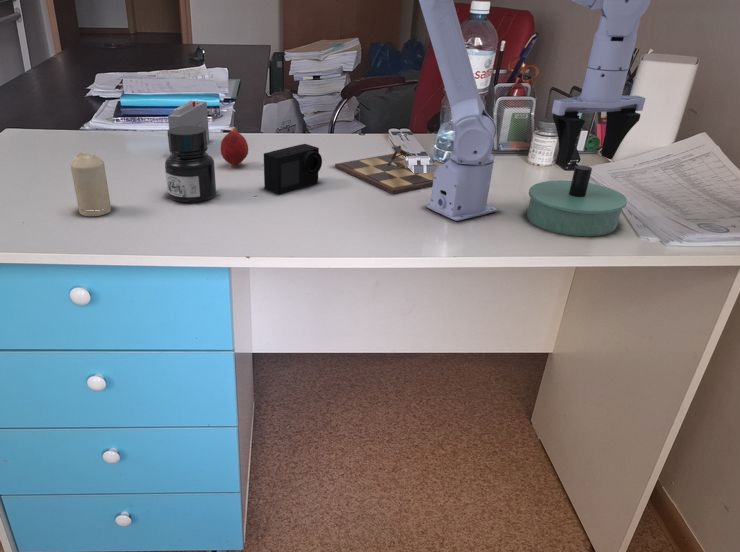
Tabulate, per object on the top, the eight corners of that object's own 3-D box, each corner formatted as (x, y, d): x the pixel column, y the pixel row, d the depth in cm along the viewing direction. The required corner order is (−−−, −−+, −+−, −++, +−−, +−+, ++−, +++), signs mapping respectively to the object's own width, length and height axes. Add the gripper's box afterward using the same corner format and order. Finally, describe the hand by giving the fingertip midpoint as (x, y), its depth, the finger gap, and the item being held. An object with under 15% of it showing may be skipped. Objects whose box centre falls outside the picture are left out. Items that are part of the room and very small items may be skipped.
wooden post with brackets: (383, 161, 133) (394, 141, 130) (418, 178, 133) (429, 159, 131) (383, 164, 131) (394, 143, 129) (418, 181, 132) (429, 161, 129)
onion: (244, 171, 133) (243, 131, 129) (218, 169, 134) (215, 130, 130) (251, 163, 138) (250, 124, 134) (226, 161, 139) (223, 123, 135)
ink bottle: (157, 195, 120) (149, 130, 114) (193, 184, 126) (188, 121, 119) (190, 208, 115) (184, 139, 108) (227, 195, 120) (223, 130, 114)
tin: (576, 242, 101) (582, 218, 99) (509, 214, 111) (513, 192, 109) (634, 226, 107) (641, 202, 105) (566, 200, 117) (571, 179, 115)
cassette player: (198, 140, 154) (195, 96, 149) (209, 141, 153) (206, 97, 148) (172, 158, 141) (167, 111, 136) (183, 159, 141) (179, 111, 135)
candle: (117, 207, 115) (108, 151, 110) (100, 218, 111) (90, 160, 105) (91, 204, 117) (81, 148, 111) (73, 214, 112) (61, 157, 107)
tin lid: (559, 220, 100) (568, 185, 97) (511, 189, 112) (517, 157, 109) (645, 213, 102) (656, 178, 99) (589, 183, 115) (596, 152, 112)
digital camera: (282, 196, 120) (282, 158, 116) (264, 189, 123) (263, 152, 120) (322, 184, 126) (323, 148, 122) (304, 178, 129) (304, 142, 125)
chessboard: (392, 194, 121) (392, 190, 120) (334, 167, 135) (334, 163, 135) (472, 177, 129) (473, 173, 129) (409, 153, 144) (410, 150, 143)
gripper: (633, 62, 101) (610, 149, 108) (549, 65, 98) (531, 154, 106) (664, 69, 95) (637, 161, 102) (576, 73, 92) (555, 167, 100)
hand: (585, 158), depth 104 cm, fingers open, 7 cm apart
